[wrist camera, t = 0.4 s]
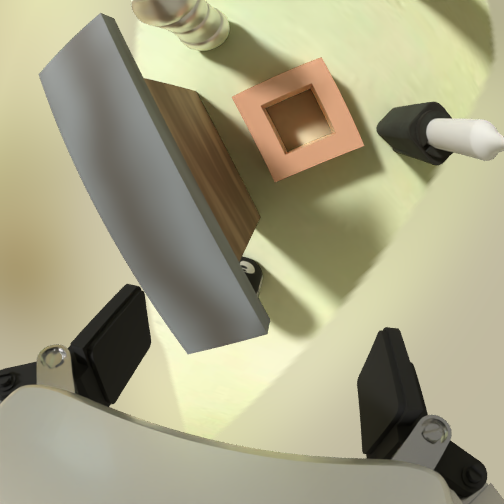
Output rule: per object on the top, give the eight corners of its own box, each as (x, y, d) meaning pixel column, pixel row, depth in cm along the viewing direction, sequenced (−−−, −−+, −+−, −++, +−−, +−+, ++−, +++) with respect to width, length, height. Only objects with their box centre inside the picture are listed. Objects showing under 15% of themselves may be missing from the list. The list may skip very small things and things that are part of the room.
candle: (421, 131, 33) (547, 153, 11) (398, 156, 35) (510, 204, 13) (396, 104, 32) (510, 87, 10) (372, 129, 34) (469, 137, 12)
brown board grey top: (218, 71, 35) (100, 13, 11) (289, 212, 41) (267, 333, 18) (181, 92, 36) (38, 74, 13) (251, 228, 43) (187, 354, 19)
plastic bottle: (238, 46, 33) (182, -13, 15) (191, 60, 34) (107, 22, 16) (228, 9, 30) (170, -62, 12) (182, 23, 32) (101, -27, 14)
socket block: (319, 65, 32) (321, 57, 28) (356, 143, 36) (364, 145, 31) (240, 100, 36) (231, 97, 31) (278, 175, 39) (275, 182, 35)
